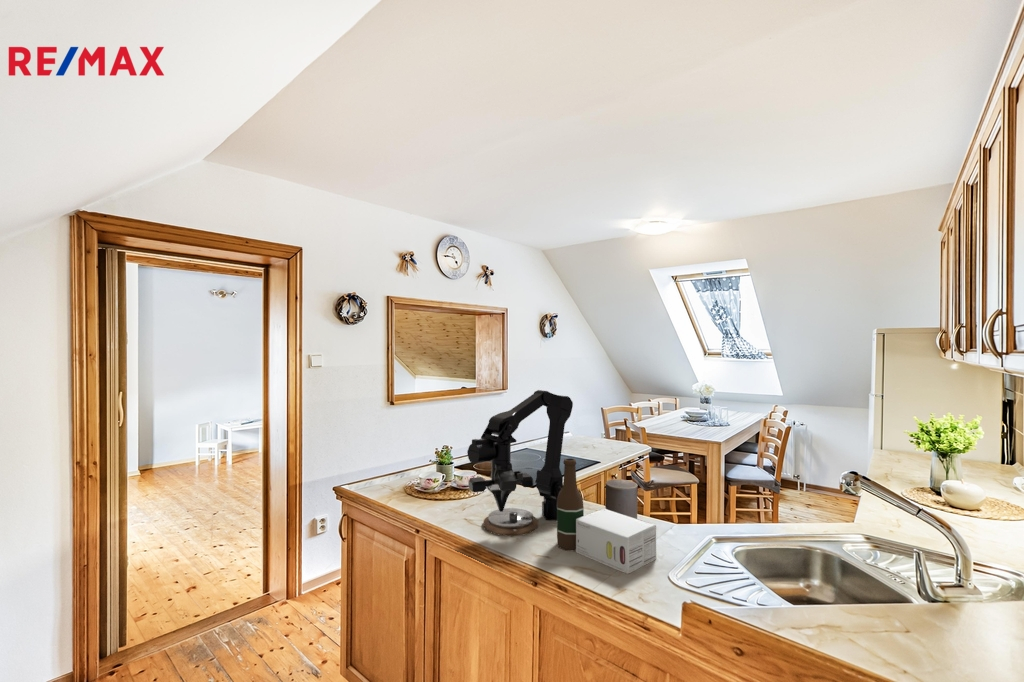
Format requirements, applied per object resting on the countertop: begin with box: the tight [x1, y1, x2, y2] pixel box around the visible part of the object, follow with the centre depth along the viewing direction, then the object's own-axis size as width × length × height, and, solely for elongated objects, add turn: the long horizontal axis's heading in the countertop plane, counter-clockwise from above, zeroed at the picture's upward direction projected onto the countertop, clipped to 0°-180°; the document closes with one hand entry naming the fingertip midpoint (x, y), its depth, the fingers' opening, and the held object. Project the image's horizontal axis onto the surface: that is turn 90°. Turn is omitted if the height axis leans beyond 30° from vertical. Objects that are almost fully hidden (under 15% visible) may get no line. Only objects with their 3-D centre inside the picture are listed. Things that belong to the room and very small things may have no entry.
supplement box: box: [575, 508, 657, 575], centre depth 129 cm, size 17×13×9 cm
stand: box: [483, 515, 539, 537], centre depth 151 cm, size 17×17×1 cm
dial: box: [487, 507, 534, 529], centre depth 151 cm, size 14×14×4 cm
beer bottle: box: [556, 457, 585, 552], centre depth 135 cm, size 8×8×24 cm
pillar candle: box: [604, 478, 639, 519], centre depth 148 cm, size 10×10×15 cm
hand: (501, 511), depth 144 cm, fingers closed
